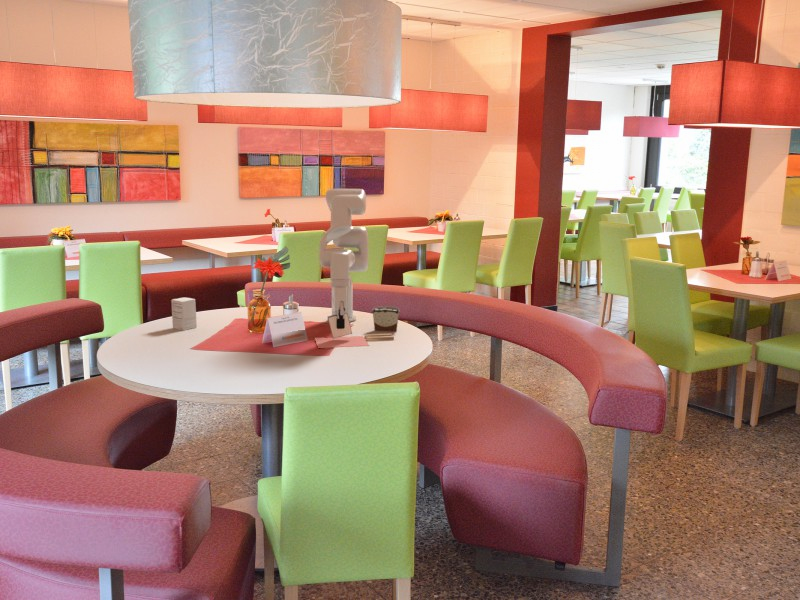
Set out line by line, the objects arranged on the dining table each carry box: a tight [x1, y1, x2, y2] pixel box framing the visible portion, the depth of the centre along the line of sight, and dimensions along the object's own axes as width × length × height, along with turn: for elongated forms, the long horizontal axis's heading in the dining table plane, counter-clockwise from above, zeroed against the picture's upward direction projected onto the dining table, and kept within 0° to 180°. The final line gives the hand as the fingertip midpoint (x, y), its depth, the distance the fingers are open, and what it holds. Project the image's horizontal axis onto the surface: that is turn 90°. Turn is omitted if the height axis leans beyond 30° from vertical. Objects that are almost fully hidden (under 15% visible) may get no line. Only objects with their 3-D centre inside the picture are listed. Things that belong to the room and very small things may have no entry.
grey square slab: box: [327, 312, 353, 339], centre depth 309 cm, size 2×9×8 cm
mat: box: [314, 335, 370, 349], centre depth 308 cm, size 16×20×1 cm
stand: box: [364, 333, 395, 342], centre depth 314 cm, size 6×11×2 cm, turn 102°
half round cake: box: [371, 305, 401, 332], centre depth 330 cm, size 12×6×10 cm, turn 84°
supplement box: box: [170, 296, 197, 331], centre depth 330 cm, size 7×7×13 cm
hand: (340, 327), depth 309 cm, fingers closed on grey square slab, 1 cm apart
